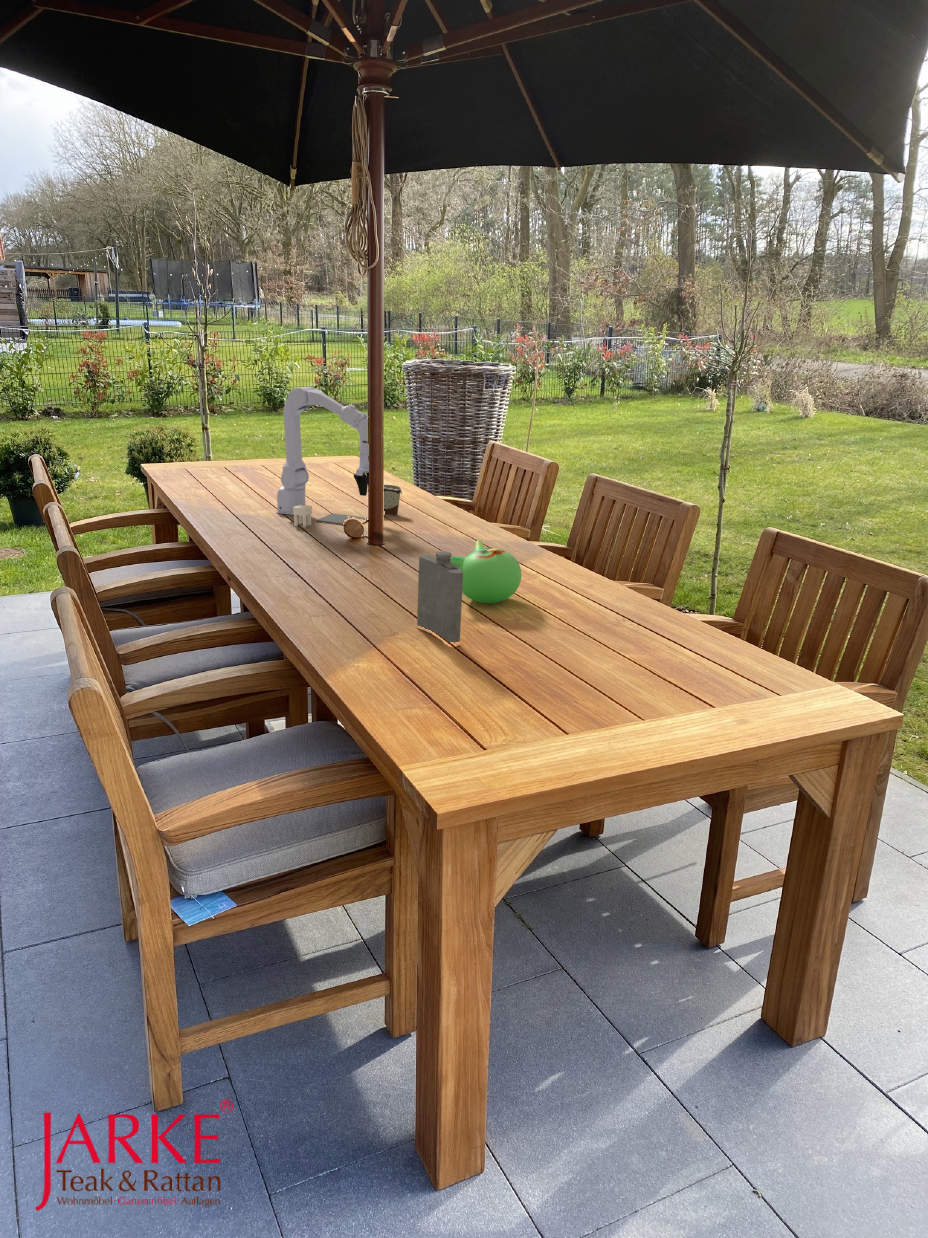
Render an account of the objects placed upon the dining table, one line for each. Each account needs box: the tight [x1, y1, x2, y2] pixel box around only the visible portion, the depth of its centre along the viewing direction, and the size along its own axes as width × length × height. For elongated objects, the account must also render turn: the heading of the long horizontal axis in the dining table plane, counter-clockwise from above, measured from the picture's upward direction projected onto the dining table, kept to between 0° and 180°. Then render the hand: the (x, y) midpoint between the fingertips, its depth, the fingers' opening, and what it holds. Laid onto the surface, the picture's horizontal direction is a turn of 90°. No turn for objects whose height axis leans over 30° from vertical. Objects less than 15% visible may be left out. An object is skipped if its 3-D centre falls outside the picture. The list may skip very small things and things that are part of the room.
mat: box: [315, 512, 368, 526], centre depth 310 cm, size 15×12×1 cm
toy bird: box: [450, 539, 522, 604], centre depth 231 cm, size 18×17×15 cm
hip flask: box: [416, 550, 463, 643], centre depth 204 cm, size 16×4×20 cm, turn 33°
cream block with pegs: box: [293, 505, 313, 528], centre depth 300 cm, size 5×5×6 cm
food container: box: [367, 484, 403, 517], centre depth 322 cm, size 12×6×10 cm, turn 84°
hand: (367, 493), depth 306 cm, fingers open, 7 cm apart
